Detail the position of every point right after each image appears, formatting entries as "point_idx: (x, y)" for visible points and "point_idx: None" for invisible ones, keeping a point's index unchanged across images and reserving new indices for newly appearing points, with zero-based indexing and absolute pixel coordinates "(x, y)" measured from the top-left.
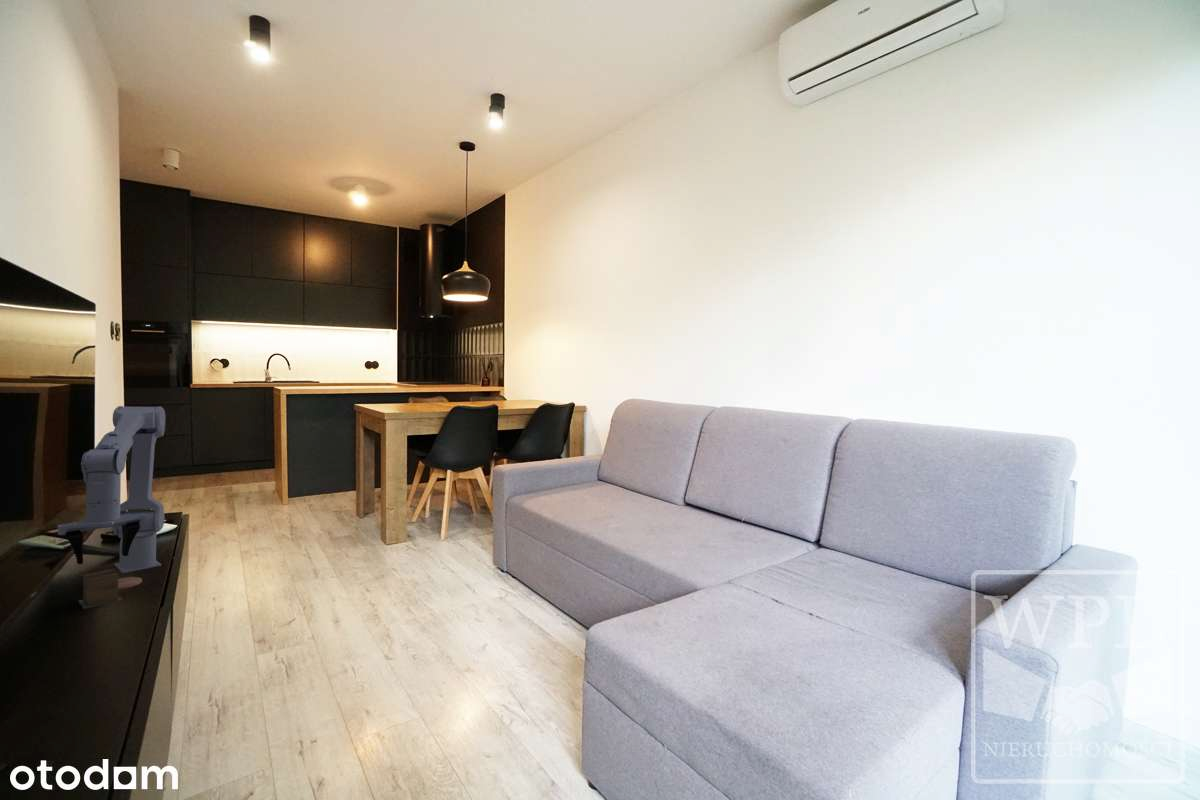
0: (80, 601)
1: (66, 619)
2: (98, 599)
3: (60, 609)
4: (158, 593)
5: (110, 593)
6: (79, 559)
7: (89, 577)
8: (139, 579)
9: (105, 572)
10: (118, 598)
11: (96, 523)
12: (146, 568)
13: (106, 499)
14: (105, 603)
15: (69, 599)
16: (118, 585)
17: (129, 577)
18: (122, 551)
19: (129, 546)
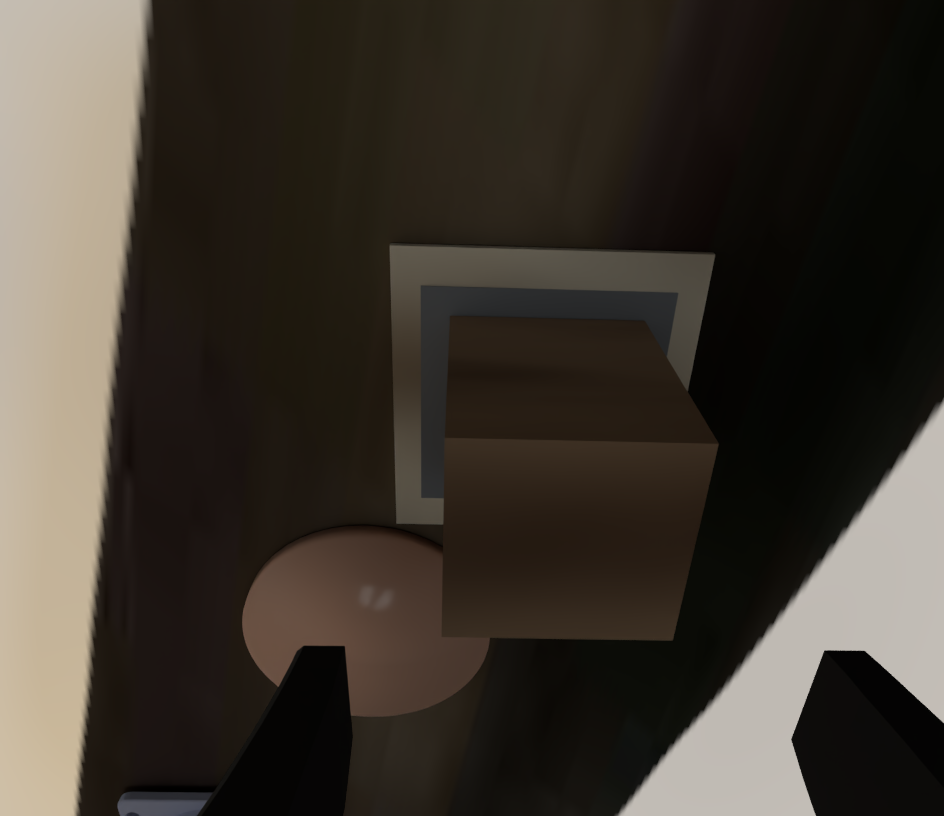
0: None
1: (833, 151)
2: (583, 334)
3: (761, 425)
4: (161, 253)
5: (501, 345)
6: (918, 704)
7: (671, 528)
8: (256, 626)
9: (518, 582)
10: (437, 344)
11: None
12: (200, 792)
13: None
14: (535, 296)
15: None
16: (386, 600)
17: None
18: (344, 766)
19: (240, 770)
